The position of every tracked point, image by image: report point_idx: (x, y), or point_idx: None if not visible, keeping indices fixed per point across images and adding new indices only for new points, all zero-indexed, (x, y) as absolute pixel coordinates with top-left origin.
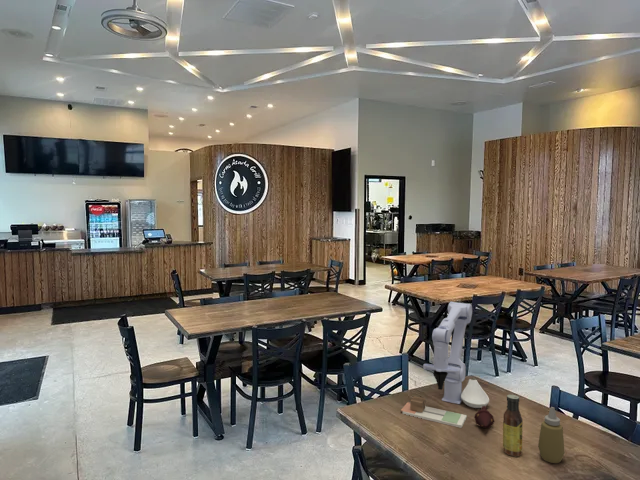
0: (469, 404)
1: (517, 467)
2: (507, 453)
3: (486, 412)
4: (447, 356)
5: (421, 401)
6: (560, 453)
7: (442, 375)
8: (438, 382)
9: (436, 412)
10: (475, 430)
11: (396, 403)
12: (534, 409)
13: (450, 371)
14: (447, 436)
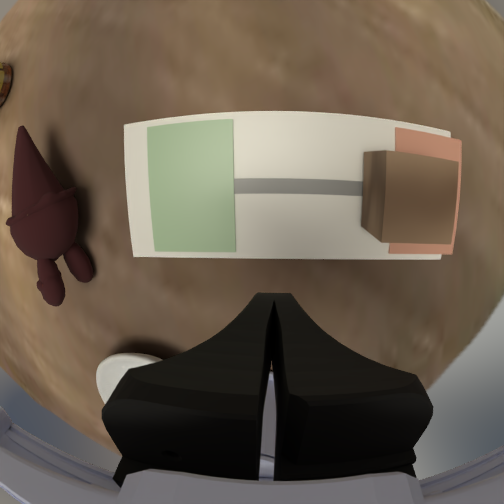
0: (152, 356)
1: (2, 34)
2: (5, 63)
3: (12, 217)
4: None
5: (397, 176)
6: None
7: (168, 393)
8: (293, 326)
9: (287, 206)
10: (80, 145)
11: (482, 240)
12: (41, 389)
13: (1, 459)
14: (175, 15)
